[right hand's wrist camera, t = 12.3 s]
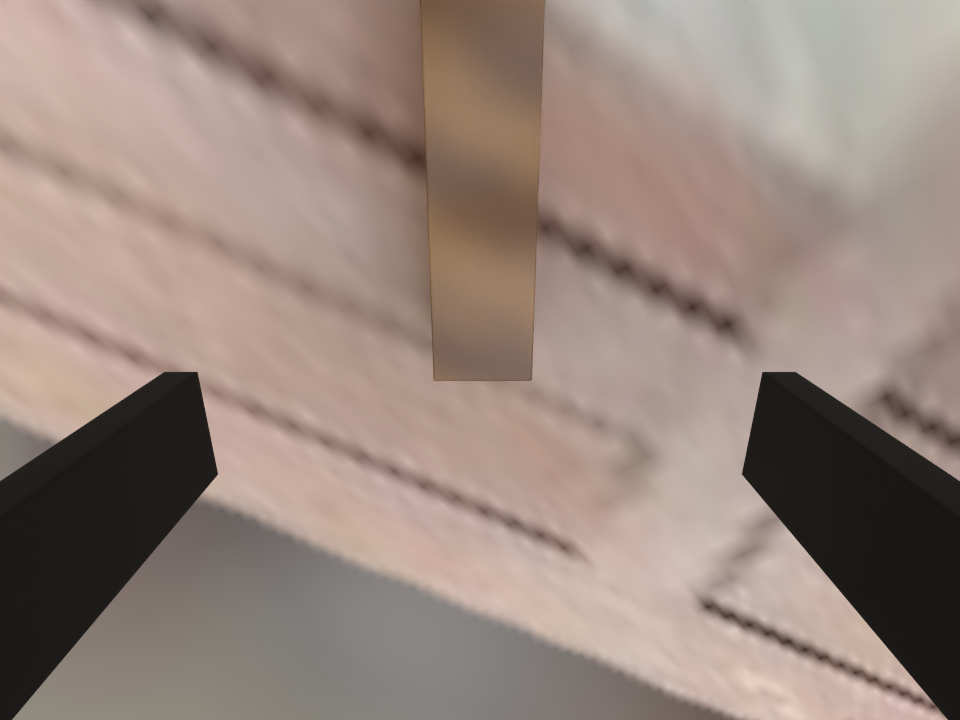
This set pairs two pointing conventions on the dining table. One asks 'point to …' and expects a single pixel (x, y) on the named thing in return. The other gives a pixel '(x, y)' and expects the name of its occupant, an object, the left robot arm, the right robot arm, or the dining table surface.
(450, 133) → the post
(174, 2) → the dining table surface
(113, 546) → the right robot arm
